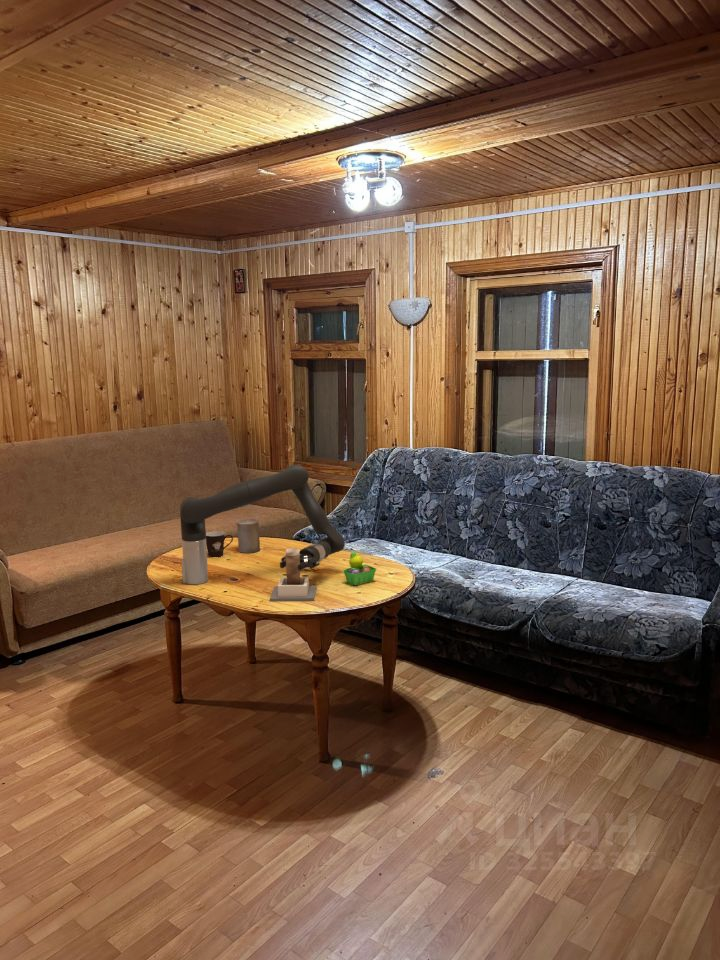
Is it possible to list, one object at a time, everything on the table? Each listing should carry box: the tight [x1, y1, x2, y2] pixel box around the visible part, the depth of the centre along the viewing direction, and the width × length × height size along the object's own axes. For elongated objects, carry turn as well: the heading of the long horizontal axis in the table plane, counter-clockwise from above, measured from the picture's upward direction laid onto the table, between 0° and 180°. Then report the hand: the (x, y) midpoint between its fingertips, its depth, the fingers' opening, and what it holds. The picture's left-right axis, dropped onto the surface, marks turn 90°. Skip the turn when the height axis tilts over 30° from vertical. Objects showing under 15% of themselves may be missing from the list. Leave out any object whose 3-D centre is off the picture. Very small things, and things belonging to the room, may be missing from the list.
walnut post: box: [285, 547, 301, 585], centre depth 269 cm, size 5×5×16 cm
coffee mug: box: [206, 531, 234, 558], centre depth 322 cm, size 12×9×10 cm
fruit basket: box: [342, 551, 377, 586], centre depth 284 cm, size 11×9×11 cm
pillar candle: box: [236, 518, 261, 554], centre depth 329 cm, size 10×10×15 cm
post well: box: [269, 576, 318, 602], centre depth 270 cm, size 16×14×5 cm
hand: (289, 566), depth 266 cm, fingers open, 7 cm apart
